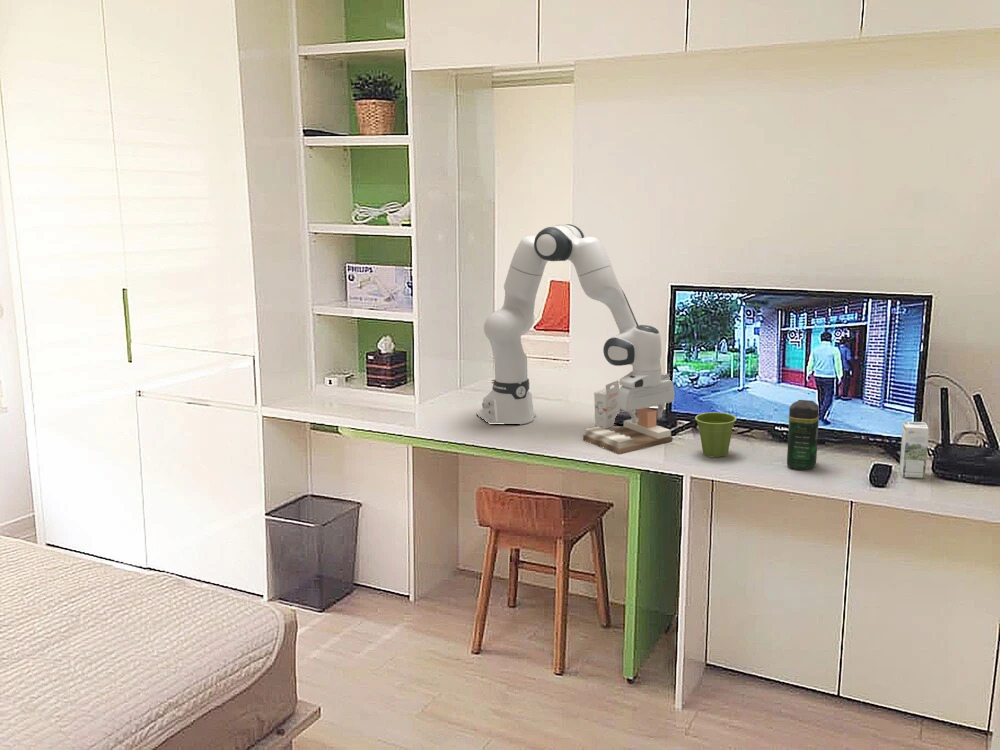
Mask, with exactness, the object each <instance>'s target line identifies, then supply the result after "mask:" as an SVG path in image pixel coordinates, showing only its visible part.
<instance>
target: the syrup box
mask: <svg viewBox="0 0 1000 750" xmlns="http://www.w3.org/2000/svg"><path fill="white" fill-rule="evenodd" d="M901 427H902V428H901V429H902V430H901V442H900V457H899V472H900V475H901V477H902V478H906V479H908V478H909V479H926V467H927V456H928V444H929V431H930V428H929V427H928V425H927V423H926V422H924V421H903V422H902V426H901Z"/></svg>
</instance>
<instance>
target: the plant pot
mask: <svg viewBox="0 0 1000 750" xmlns="http://www.w3.org/2000/svg"><path fill="white" fill-rule="evenodd" d="M737 418H738V417H736V416H735V415H733V414H732V413H726V412H717V411H716V412H714V411H713V412H703V413H702V412H701V413H700V414H697V415H696V416H695V417H694V419H695V421H696V422H697V423H696V424H697V427H698V431H699V436H700V441H701V442H700V444H701V449H702V453H703V455H705V456H706V455H707V456H706V457H708V456H713V457H712V458H720V457H726V456H728V454H729V449H730V443H731V440H732V433H733V429H734V425H735V422H736V421H737Z"/></svg>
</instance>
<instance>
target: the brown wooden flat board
mask: <svg viewBox="0 0 1000 750" xmlns="http://www.w3.org/2000/svg"><path fill="white" fill-rule="evenodd" d="M582 438H583V440H582V441H585V440H586V441H585V442H587V441H588V443H590V442H591V443H590V444H592V443H593V445H595V444H596V445H595V446H597V445H598V447H600V446H601V447H600V448H602V447H604V448H603V449H605V448H606V449H605V450H607V449H608V450H607V451H610V450H611V451H610V452H612V451H614V452H613V453H615V452H616V453H615V454H617V453H618V454H617V455H621V454H625V453H630V452H634V451H637V450H642V449H647V448H651V447H655V446H658V445H663V444H667V443H672V442H673V436H672V435H671V436H670V437H665V438H661V439H657V438H654V437H651V436H648V435H645V434H643V433H640V432H637V431H634V430H631V429H629V428H626V427H624V425H623V426H620V427H615V428H610V429H609V428H604V427H602V426H599V427H595V426H594V427H590V428H586V429H585V432H584V434H583V435H582Z"/></svg>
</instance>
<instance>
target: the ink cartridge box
mask: <svg viewBox="0 0 1000 750" xmlns="http://www.w3.org/2000/svg"><path fill="white" fill-rule="evenodd" d="M619 381H620V380H618V379H617V380H614V381H612V382H610V383H607V384H606V385H605V388H602V389H600V390H597V391H596V392H595V391H594V393H593V394H594V397H593V398H594V427H599V426H602V427H604V428H607V429H609V428H611V427H613V426H615V425H616V424H614V423H615V418H616V416H617V414H619V413H620V410H621V409H620V408H619V406H618V395H619V389H620V383H619ZM612 386H613V387H612ZM620 414H621V413H620Z"/></svg>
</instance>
